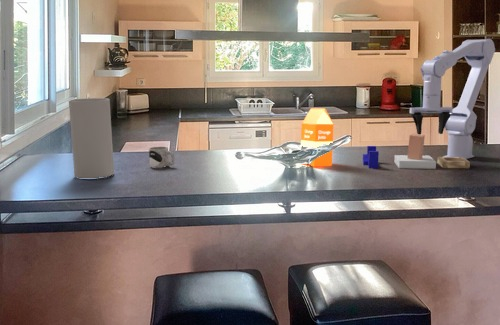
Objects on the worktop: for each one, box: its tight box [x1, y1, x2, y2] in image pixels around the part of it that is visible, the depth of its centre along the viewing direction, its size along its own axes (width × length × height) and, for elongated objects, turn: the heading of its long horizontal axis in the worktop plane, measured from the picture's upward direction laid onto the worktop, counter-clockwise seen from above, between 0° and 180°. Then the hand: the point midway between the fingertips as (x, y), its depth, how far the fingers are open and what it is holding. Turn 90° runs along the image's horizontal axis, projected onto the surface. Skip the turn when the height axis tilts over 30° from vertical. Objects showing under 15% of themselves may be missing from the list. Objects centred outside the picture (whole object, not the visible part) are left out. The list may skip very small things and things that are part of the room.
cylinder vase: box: [68, 97, 115, 179], centre depth 174 cm, size 12×12×25 cm
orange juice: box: [300, 107, 334, 167], centre depth 189 cm, size 8×9×20 cm
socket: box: [436, 156, 471, 169], centre depth 185 cm, size 9×9×2 cm
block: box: [407, 133, 426, 160], centre depth 185 cm, size 4×4×8 cm
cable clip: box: [362, 145, 379, 169], centre depth 188 cm, size 12×4×6 cm, turn 171°
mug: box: [148, 146, 176, 167], centre depth 189 cm, size 10×7×7 cm, turn 62°
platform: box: [394, 154, 437, 170], centre depth 187 cm, size 12×11×2 cm
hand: (429, 133), depth 189 cm, fingers open, 7 cm apart
